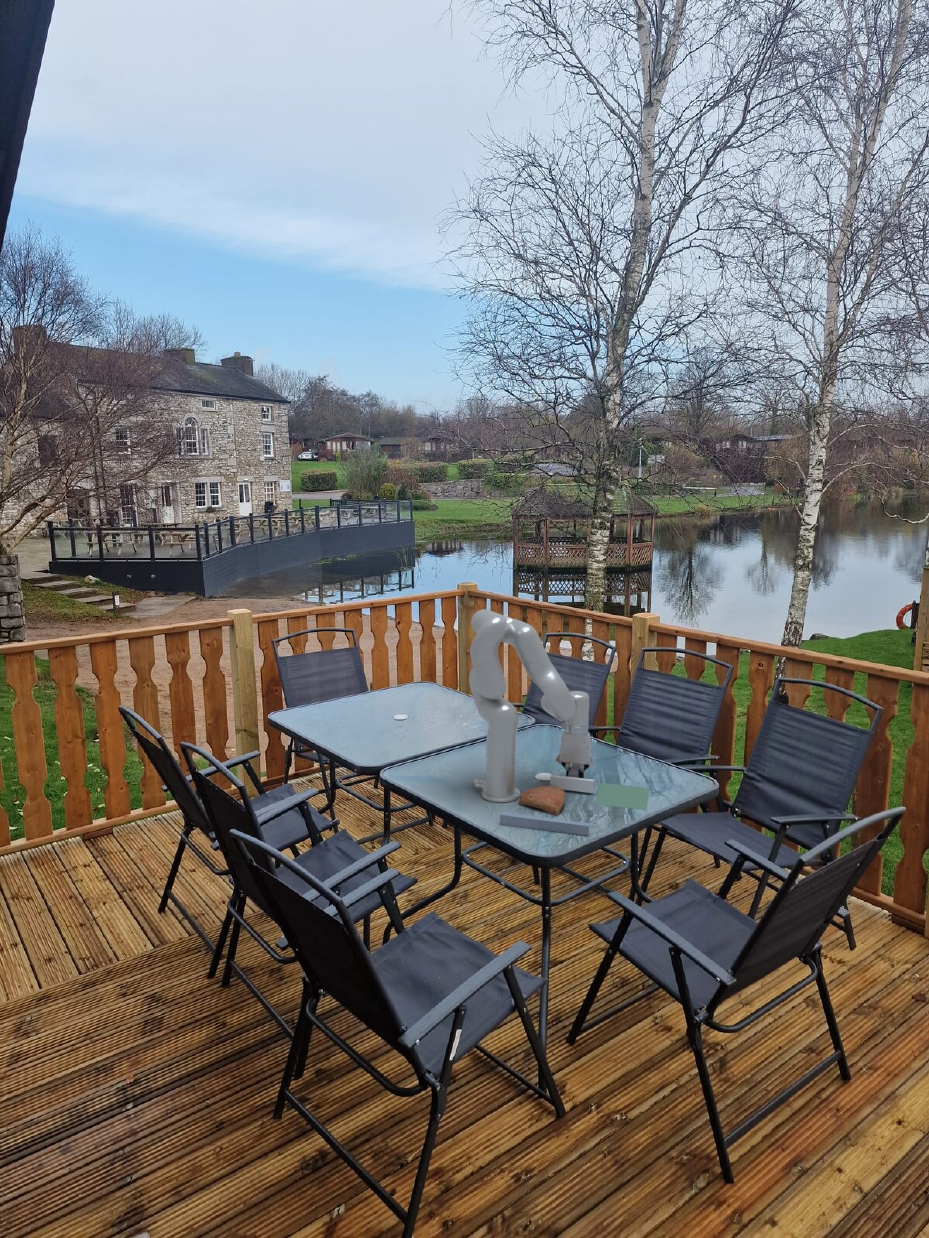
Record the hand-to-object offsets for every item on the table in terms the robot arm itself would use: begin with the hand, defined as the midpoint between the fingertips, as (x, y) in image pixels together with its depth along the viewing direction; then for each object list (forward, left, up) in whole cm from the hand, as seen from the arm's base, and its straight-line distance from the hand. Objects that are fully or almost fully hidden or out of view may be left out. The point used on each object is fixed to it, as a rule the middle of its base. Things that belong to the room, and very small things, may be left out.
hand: (574, 780), depth 253 cm
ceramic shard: (-5, -17, -2) cm, 18 cm away
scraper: (0, 0, 0) cm, 0 cm away
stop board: (-4, -35, -2) cm, 35 cm away
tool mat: (+16, -5, -2) cm, 17 cm away
